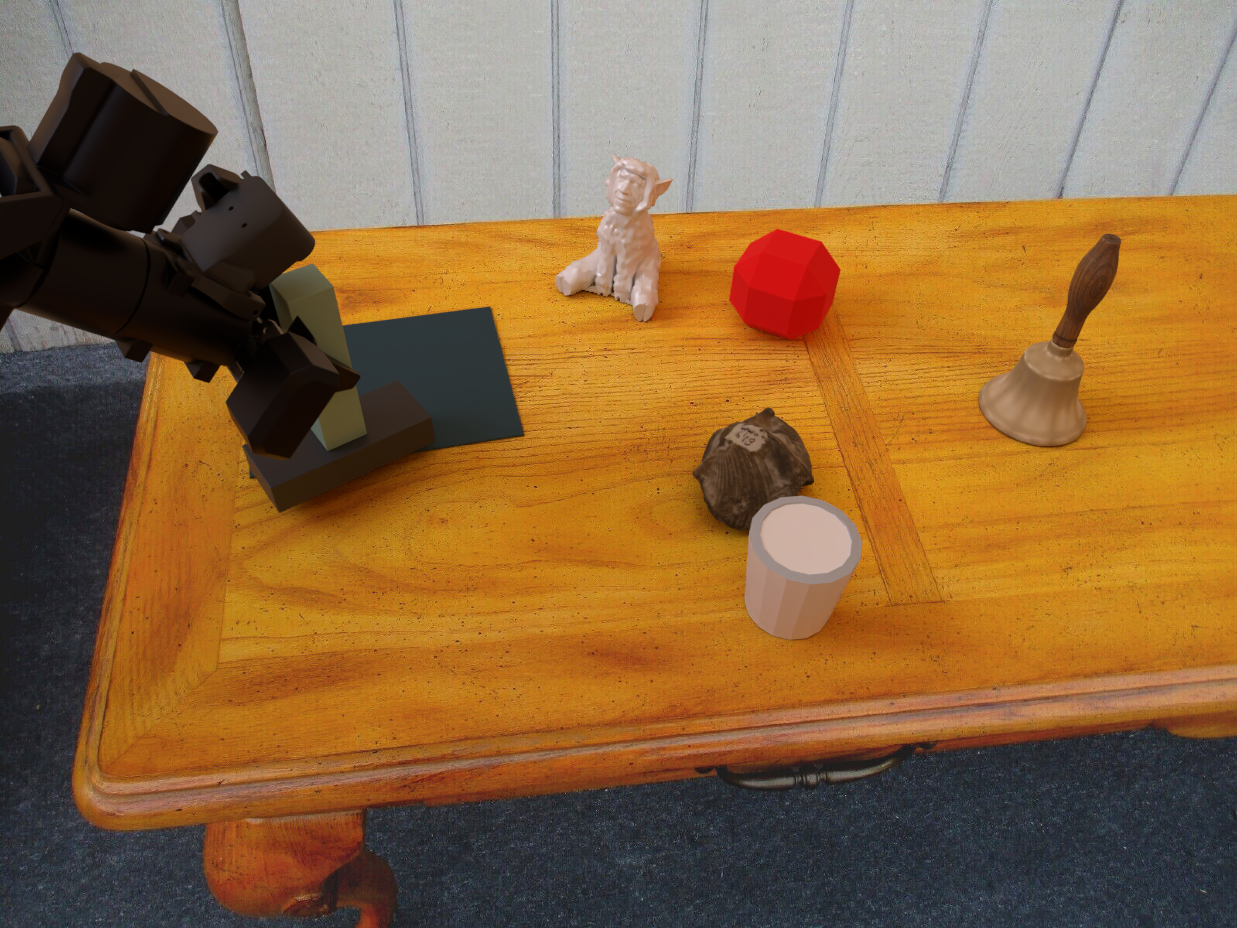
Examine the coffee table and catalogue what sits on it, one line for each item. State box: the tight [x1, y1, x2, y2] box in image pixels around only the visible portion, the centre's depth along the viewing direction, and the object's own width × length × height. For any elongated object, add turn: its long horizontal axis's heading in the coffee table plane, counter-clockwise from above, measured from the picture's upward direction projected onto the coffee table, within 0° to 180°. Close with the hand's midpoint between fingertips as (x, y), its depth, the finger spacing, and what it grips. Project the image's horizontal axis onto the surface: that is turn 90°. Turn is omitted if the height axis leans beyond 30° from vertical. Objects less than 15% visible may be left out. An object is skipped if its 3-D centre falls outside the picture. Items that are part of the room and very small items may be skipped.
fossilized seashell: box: [692, 407, 815, 531], centre depth 68 cm, size 8×7×10 cm
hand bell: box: [978, 233, 1122, 447], centre depth 70 cm, size 8×8×16 cm
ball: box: [728, 228, 842, 341], centre depth 80 cm, size 8×8×8 cm
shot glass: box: [744, 495, 863, 641], centre depth 60 cm, size 7×7×7 cm
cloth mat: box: [249, 305, 525, 479], centre depth 76 cm, size 20×16×1 cm
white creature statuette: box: [554, 153, 674, 323], centre depth 81 cm, size 10×9×12 cm
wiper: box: [241, 263, 435, 514], centre depth 63 cm, size 12×5×15 cm, turn 127°
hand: (345, 367), depth 64 cm, fingers closed on wiper, 3 cm apart
